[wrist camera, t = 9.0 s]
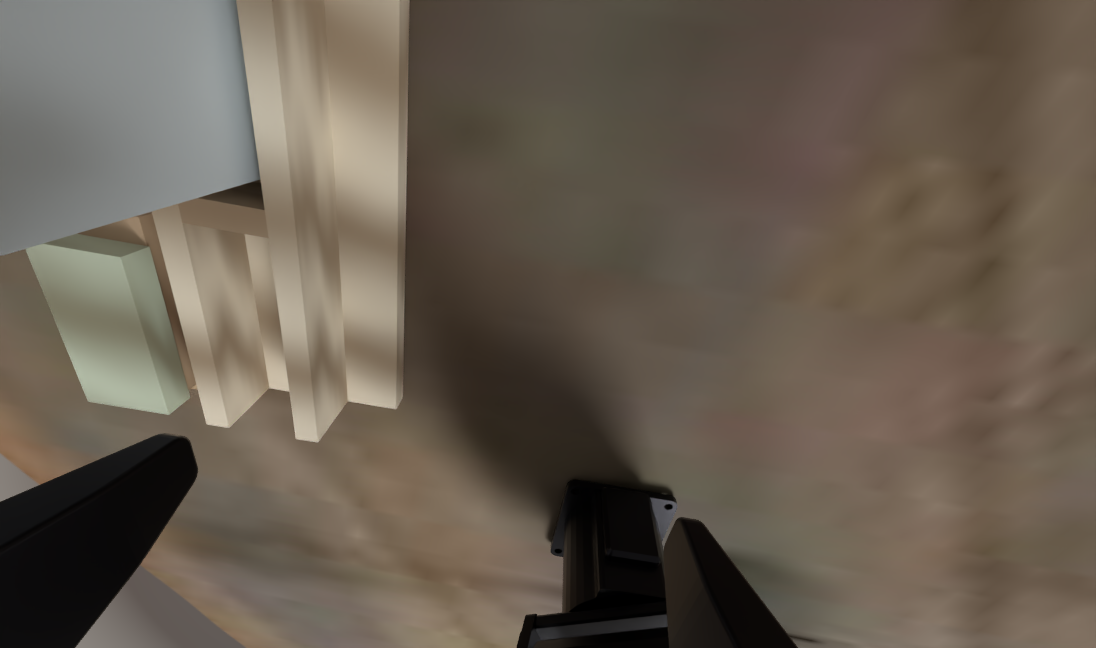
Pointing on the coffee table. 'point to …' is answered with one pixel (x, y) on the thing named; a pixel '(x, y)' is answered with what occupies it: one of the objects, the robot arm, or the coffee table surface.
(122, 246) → the offcut stack
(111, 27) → the sheet
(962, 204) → the coffee table surface
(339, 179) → the rack
